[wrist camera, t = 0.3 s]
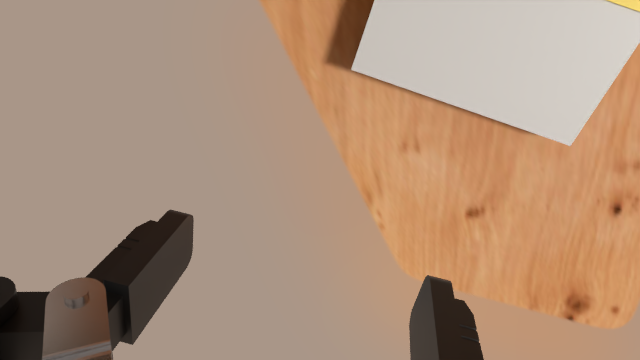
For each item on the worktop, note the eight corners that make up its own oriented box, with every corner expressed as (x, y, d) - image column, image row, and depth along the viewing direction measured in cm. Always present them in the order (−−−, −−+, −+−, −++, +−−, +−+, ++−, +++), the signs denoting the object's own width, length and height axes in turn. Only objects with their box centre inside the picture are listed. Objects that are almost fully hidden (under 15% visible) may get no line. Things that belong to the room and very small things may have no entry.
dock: (403, -85, 32) (405, -91, 29) (644, -2, 32) (669, 0, 29) (353, 63, 37) (350, 70, 34) (557, 134, 37) (571, 146, 34)
